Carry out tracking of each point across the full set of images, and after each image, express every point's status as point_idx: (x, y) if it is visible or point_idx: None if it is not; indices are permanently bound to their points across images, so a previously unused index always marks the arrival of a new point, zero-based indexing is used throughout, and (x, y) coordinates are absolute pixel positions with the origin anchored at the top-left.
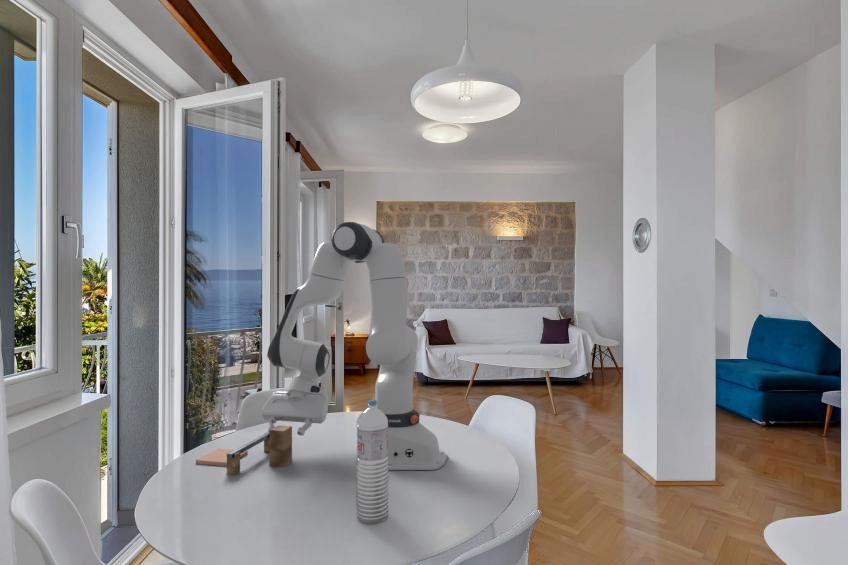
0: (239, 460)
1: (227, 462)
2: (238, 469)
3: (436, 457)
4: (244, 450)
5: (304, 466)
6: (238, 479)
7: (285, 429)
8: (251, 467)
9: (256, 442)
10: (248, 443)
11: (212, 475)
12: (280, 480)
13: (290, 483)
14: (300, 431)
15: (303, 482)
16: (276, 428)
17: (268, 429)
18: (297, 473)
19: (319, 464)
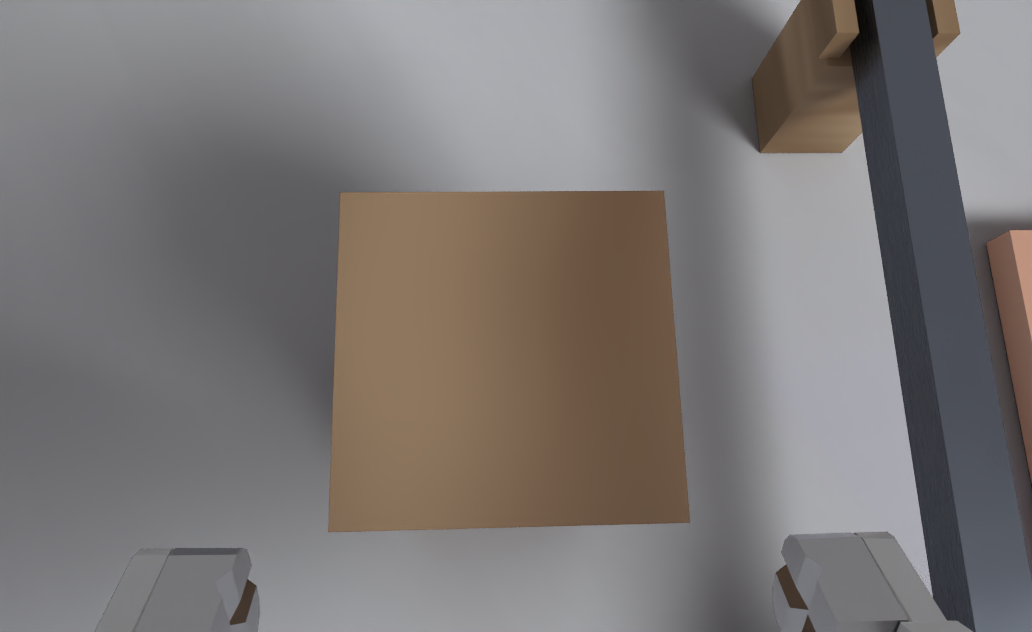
0: (803, 86)
1: None
2: (768, 116)
3: None
4: (875, 171)
5: (188, 402)
6: (652, 10)
7: (360, 283)
8: (726, 264)
9: (929, 442)
10: (962, 299)
11: None
12: (274, 54)
13: (155, 17)
14: (167, 565)
15: (44, 53)
16: (593, 314)
17: (889, 536)
18: (185, 219)
19: (36, 494)
